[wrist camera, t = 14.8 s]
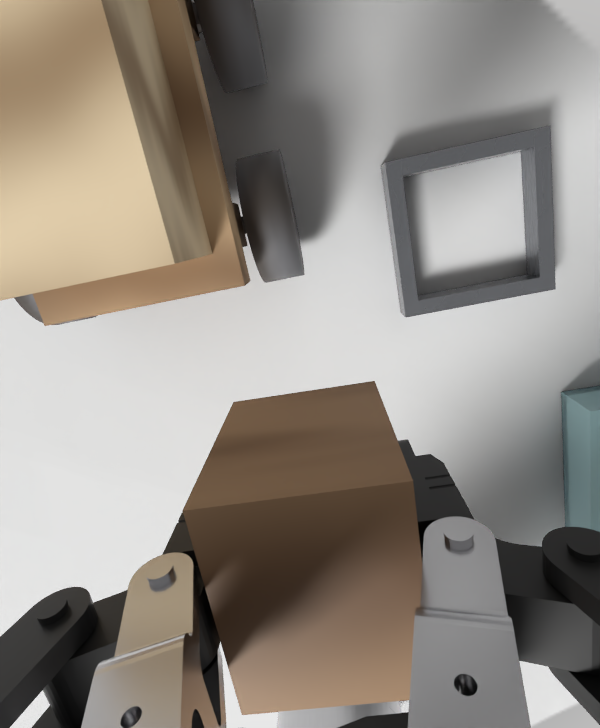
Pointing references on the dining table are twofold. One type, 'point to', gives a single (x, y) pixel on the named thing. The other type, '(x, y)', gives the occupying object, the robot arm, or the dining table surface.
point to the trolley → (129, 158)
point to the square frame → (535, 216)
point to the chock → (310, 550)
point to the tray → (581, 457)
